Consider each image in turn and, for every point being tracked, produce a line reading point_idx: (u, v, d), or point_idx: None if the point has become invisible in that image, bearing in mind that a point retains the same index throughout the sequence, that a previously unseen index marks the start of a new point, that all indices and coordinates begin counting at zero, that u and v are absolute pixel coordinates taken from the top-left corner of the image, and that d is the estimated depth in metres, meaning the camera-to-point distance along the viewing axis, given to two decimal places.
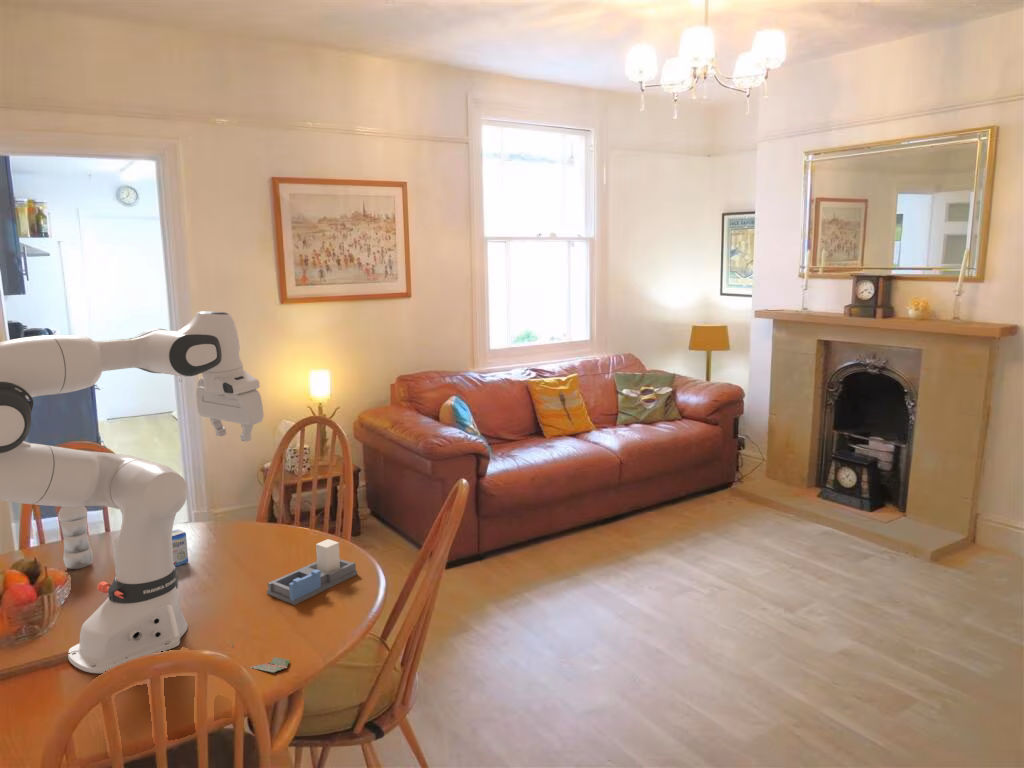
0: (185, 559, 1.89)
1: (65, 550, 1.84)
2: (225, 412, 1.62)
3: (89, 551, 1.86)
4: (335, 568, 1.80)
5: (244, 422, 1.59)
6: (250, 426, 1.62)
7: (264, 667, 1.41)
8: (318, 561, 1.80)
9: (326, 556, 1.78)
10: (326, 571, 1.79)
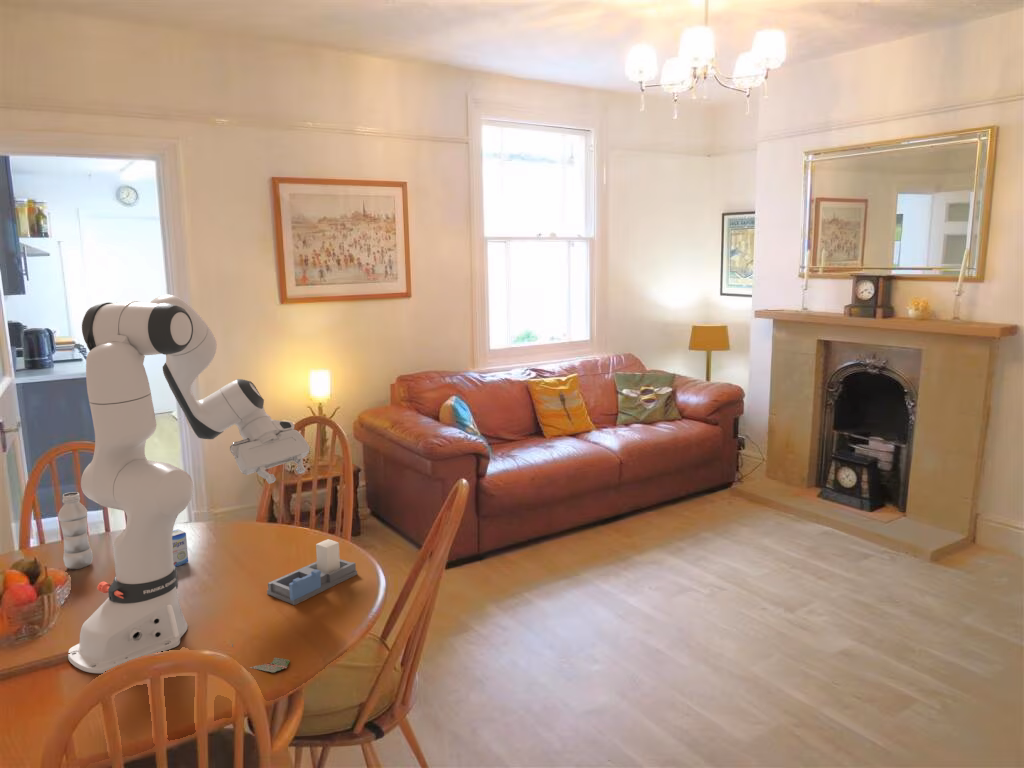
0: (185, 559, 1.89)
1: (65, 550, 1.84)
2: (281, 450, 1.87)
3: (89, 551, 1.86)
4: (335, 568, 1.80)
5: (304, 450, 1.92)
6: None
7: (264, 667, 1.41)
8: (318, 561, 1.80)
9: (326, 556, 1.78)
10: (326, 571, 1.79)
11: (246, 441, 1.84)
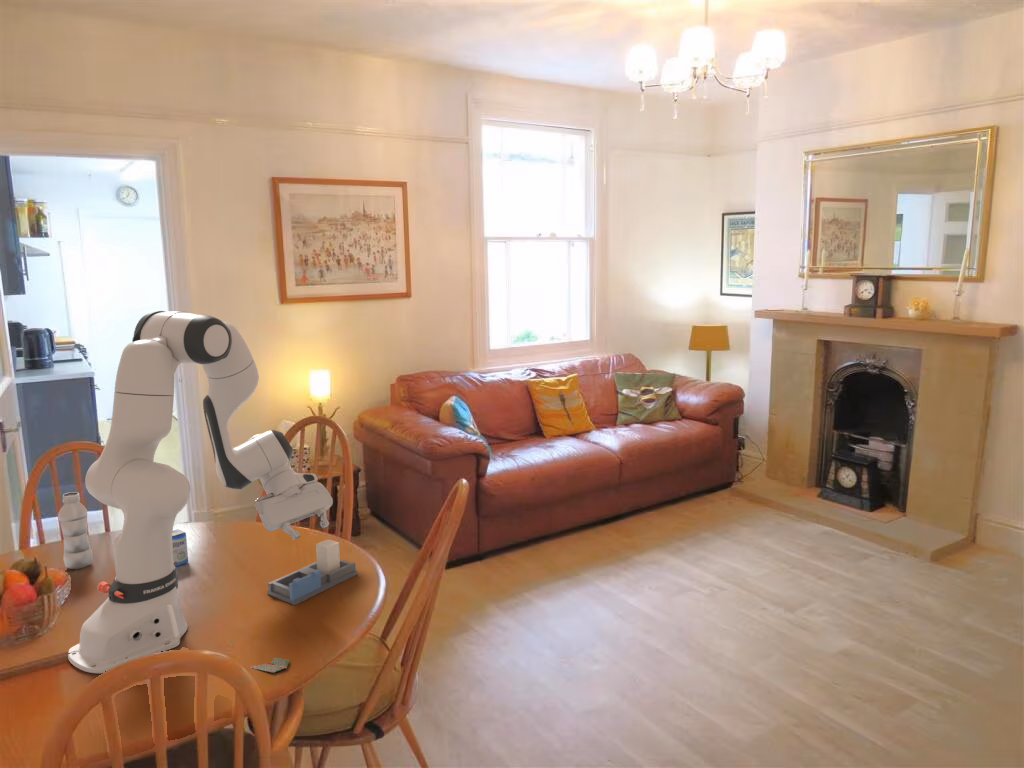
0: (185, 559, 1.89)
1: (65, 550, 1.84)
2: (305, 505, 1.85)
3: (89, 551, 1.86)
4: (335, 568, 1.80)
5: (327, 503, 1.90)
6: None
7: (263, 667, 1.41)
8: (318, 561, 1.80)
9: (326, 556, 1.78)
10: (326, 571, 1.79)
11: (270, 496, 1.82)
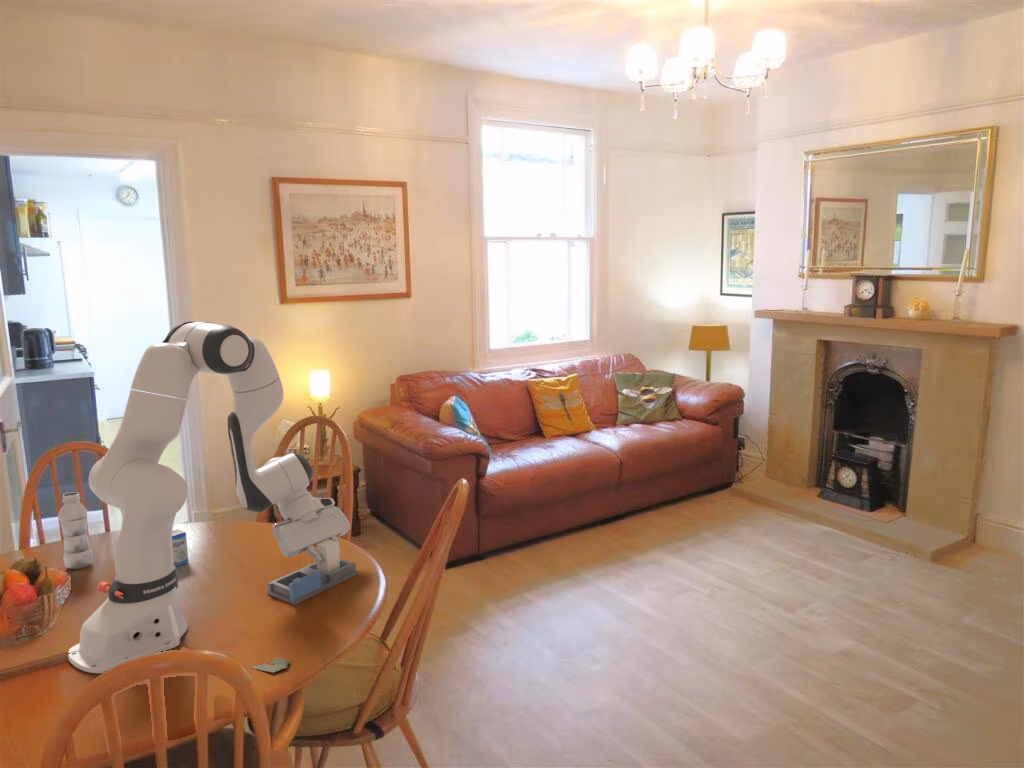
0: (185, 559, 1.89)
1: (65, 550, 1.84)
2: (322, 530, 1.82)
3: (89, 551, 1.86)
4: (335, 568, 1.80)
5: (345, 527, 1.87)
6: None
7: (263, 667, 1.41)
8: None
9: (326, 556, 1.78)
10: (326, 571, 1.79)
11: (287, 521, 1.79)
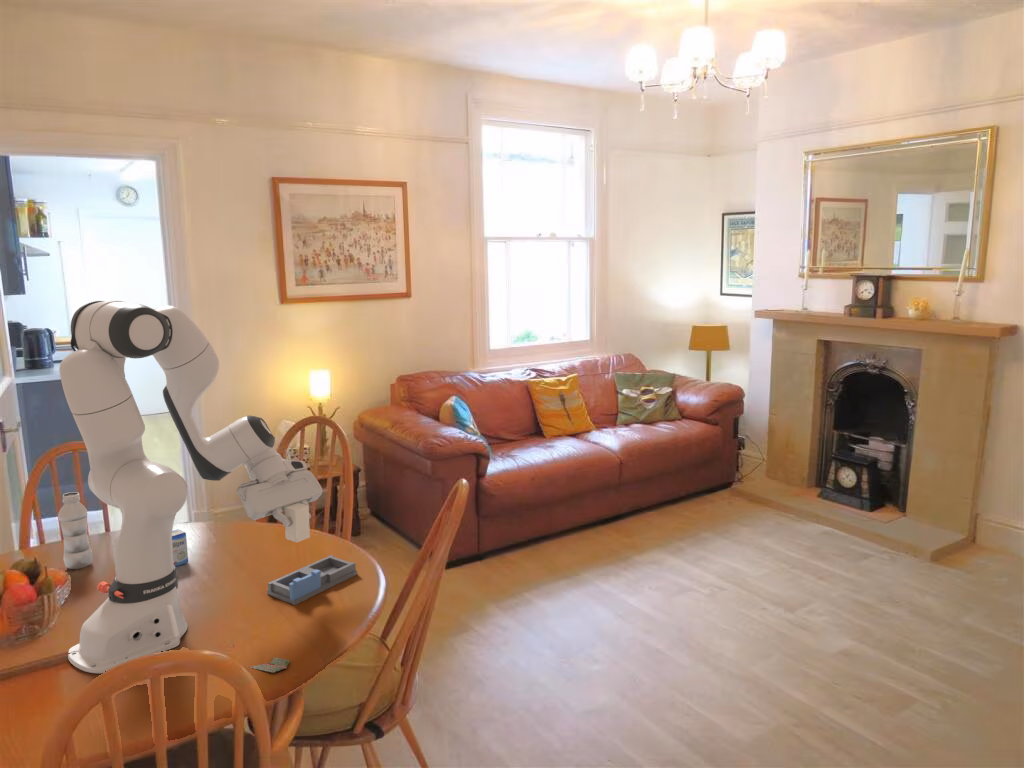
0: (185, 559, 1.89)
1: (65, 550, 1.84)
2: (292, 493, 1.73)
3: (89, 551, 1.86)
4: (304, 533, 1.71)
5: (316, 492, 1.78)
6: None
7: (263, 667, 1.41)
8: None
9: (294, 520, 1.68)
10: (294, 535, 1.69)
11: (255, 483, 1.70)
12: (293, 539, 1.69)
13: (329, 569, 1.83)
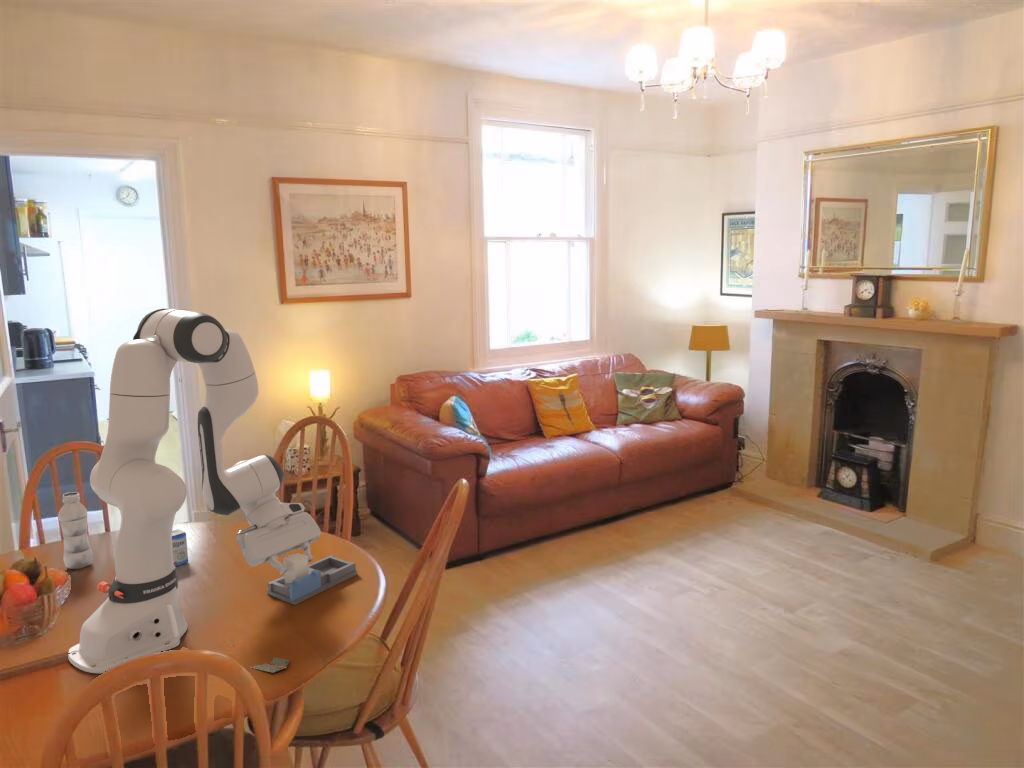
0: (185, 559, 1.89)
1: (65, 550, 1.84)
2: (290, 537, 1.74)
3: (89, 551, 1.86)
4: None
5: (314, 534, 1.79)
6: None
7: (263, 667, 1.41)
8: (286, 575, 1.72)
9: (293, 571, 1.70)
10: None
11: (253, 528, 1.71)
12: None
13: (329, 569, 1.83)
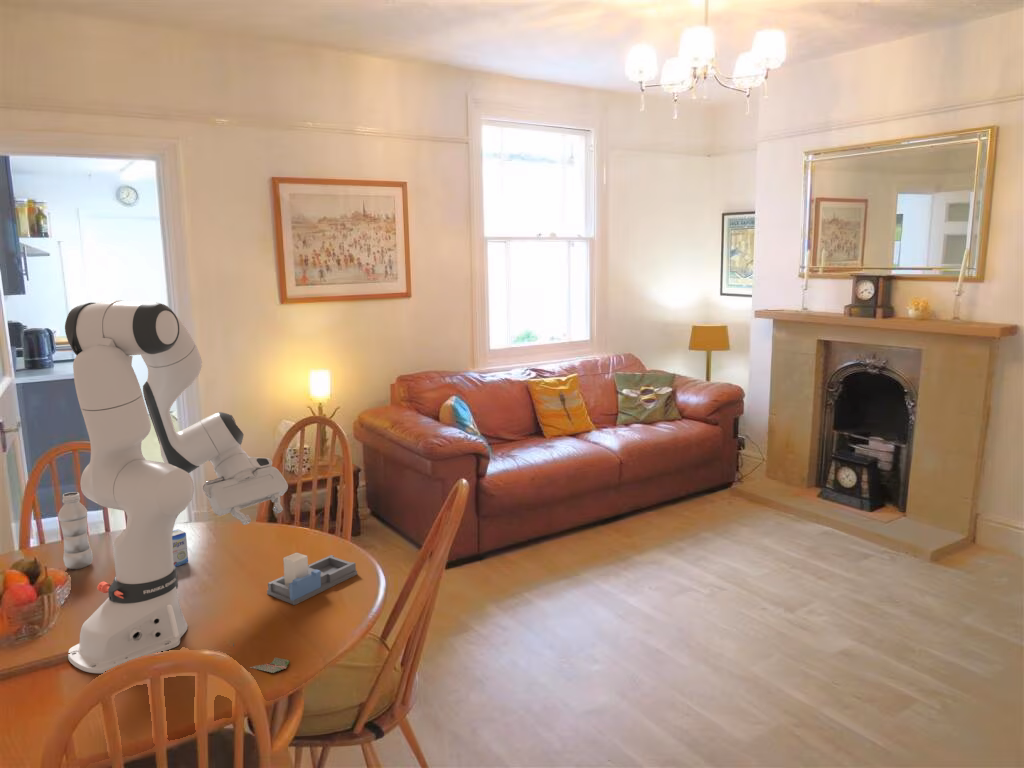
0: (185, 559, 1.89)
1: (65, 550, 1.84)
2: (257, 489, 1.79)
3: (89, 551, 1.86)
4: None
5: (282, 488, 1.83)
6: None
7: (263, 667, 1.41)
8: (286, 575, 1.72)
9: (293, 571, 1.70)
10: None
11: (220, 480, 1.76)
12: None
13: (329, 569, 1.83)
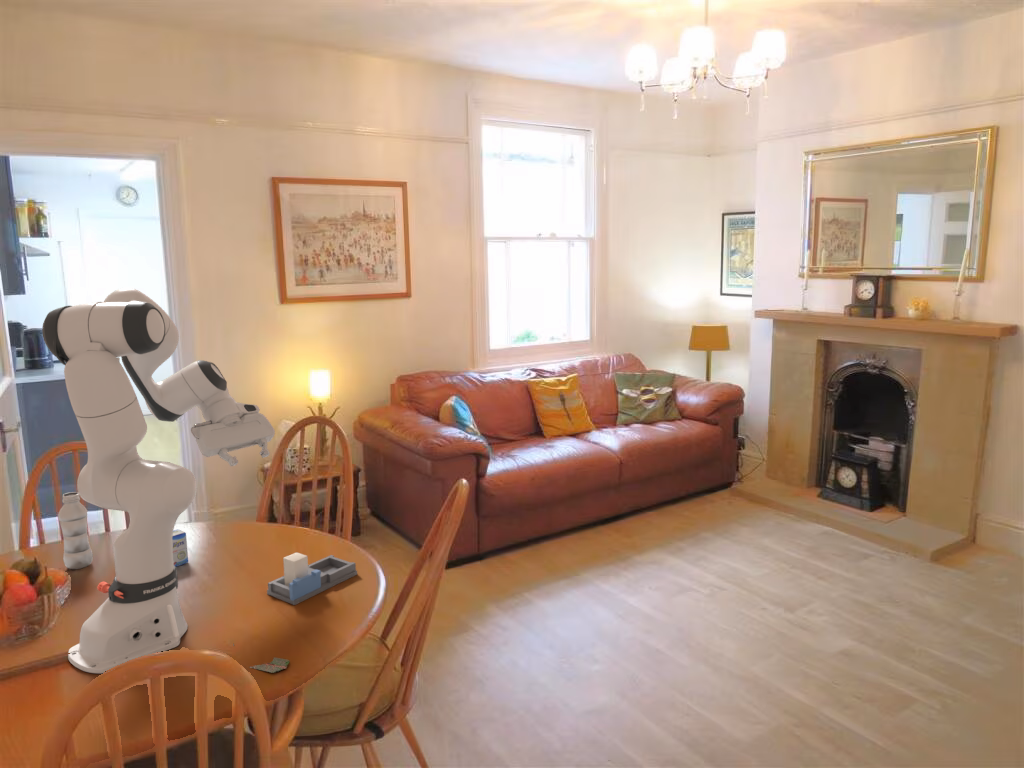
0: (185, 559, 1.89)
1: (65, 550, 1.84)
2: (244, 433, 1.83)
3: (89, 551, 1.86)
4: None
5: (268, 433, 1.88)
6: None
7: (263, 667, 1.41)
8: (286, 575, 1.72)
9: (293, 571, 1.70)
10: None
11: (208, 423, 1.80)
12: None
13: (329, 569, 1.83)
